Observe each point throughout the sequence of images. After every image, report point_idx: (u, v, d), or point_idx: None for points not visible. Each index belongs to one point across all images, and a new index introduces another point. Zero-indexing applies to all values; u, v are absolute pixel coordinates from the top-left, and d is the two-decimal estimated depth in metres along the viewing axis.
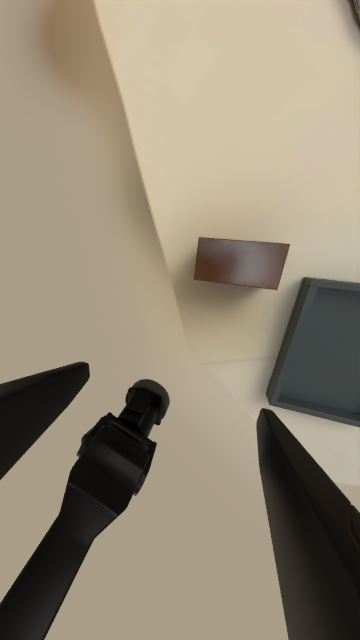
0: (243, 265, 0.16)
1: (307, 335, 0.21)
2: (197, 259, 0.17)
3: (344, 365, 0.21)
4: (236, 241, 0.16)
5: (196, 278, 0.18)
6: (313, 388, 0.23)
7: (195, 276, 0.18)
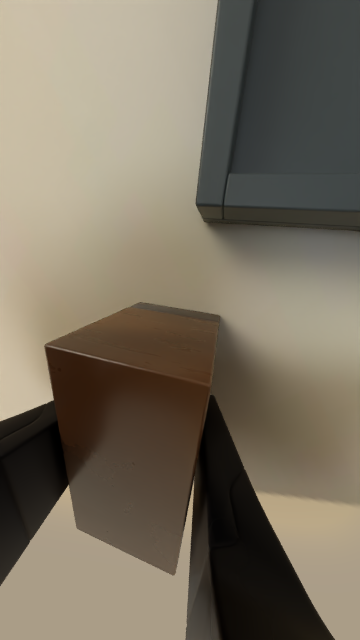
0: (125, 471, 0.05)
1: None
2: (122, 549, 0.06)
3: None
4: (67, 470, 0.06)
5: (171, 571, 0.06)
6: None
7: (165, 570, 0.06)
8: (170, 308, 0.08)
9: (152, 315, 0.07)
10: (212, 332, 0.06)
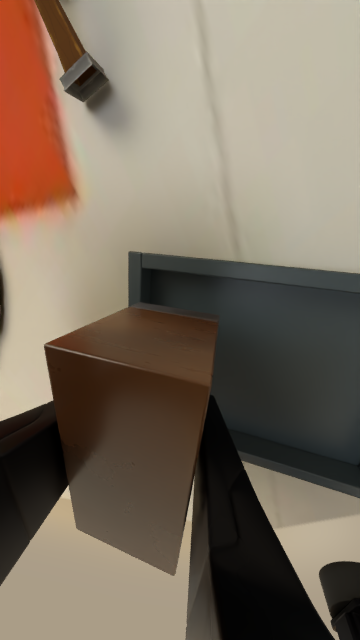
0: (125, 471, 0.05)
1: None
2: (122, 549, 0.06)
3: (281, 364, 0.11)
4: (67, 471, 0.06)
5: (171, 571, 0.06)
6: (344, 407, 0.10)
7: (165, 570, 0.06)
8: (170, 308, 0.08)
9: (152, 315, 0.07)
10: (212, 332, 0.06)
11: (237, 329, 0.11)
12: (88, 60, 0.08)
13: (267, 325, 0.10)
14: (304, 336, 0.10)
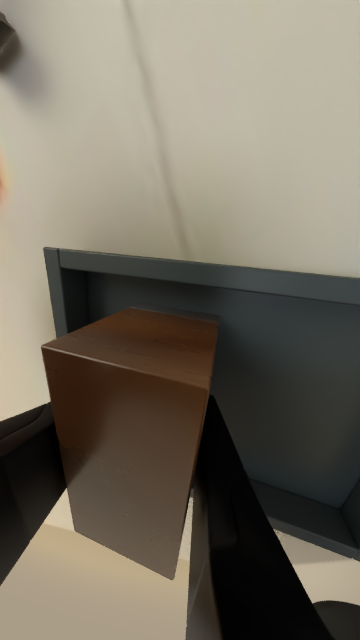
0: (123, 474, 0.05)
1: None
2: (120, 552, 0.06)
3: (243, 386, 0.09)
4: (65, 473, 0.05)
5: (169, 576, 0.06)
6: (321, 440, 0.08)
7: (164, 575, 0.06)
8: (170, 309, 0.08)
9: (151, 316, 0.07)
10: (212, 333, 0.06)
11: None
12: None
13: (223, 338, 0.08)
14: (268, 353, 0.08)
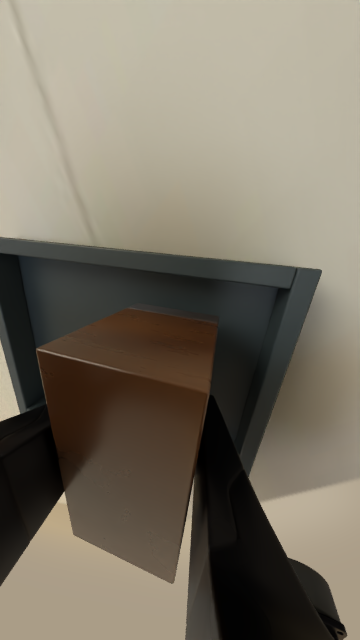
0: (121, 478, 0.05)
1: None
2: (120, 556, 0.06)
3: None
4: (63, 477, 0.05)
5: (169, 579, 0.06)
6: None
7: (164, 578, 0.06)
8: (168, 309, 0.08)
9: (150, 316, 0.07)
10: (211, 334, 0.06)
11: (101, 315, 0.11)
12: None
13: None
14: None
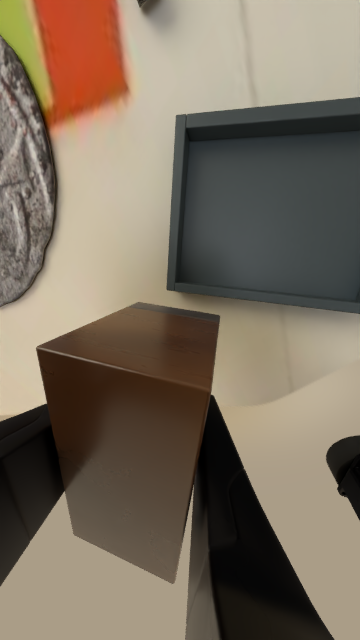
0: (122, 478, 0.05)
1: (241, 272, 0.16)
2: (120, 556, 0.06)
3: (292, 212, 0.14)
4: (63, 476, 0.05)
5: (170, 579, 0.06)
6: (343, 243, 0.13)
7: (164, 578, 0.06)
8: (169, 308, 0.08)
9: (150, 315, 0.07)
10: (212, 333, 0.06)
11: (257, 186, 0.14)
12: None
13: (281, 177, 0.13)
14: (310, 181, 0.13)
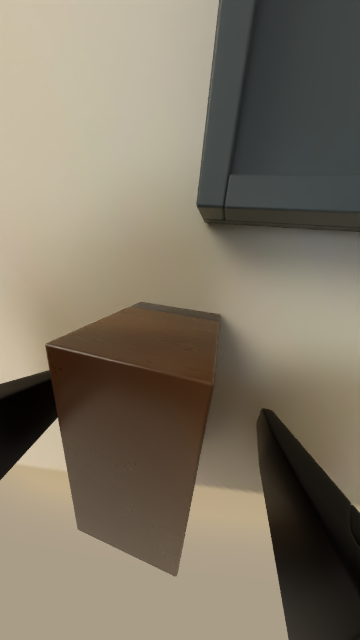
0: (126, 471, 0.05)
1: None
2: (124, 550, 0.06)
3: None
4: (69, 471, 0.06)
5: (173, 572, 0.06)
6: None
7: (167, 571, 0.06)
8: (171, 308, 0.08)
9: (153, 315, 0.07)
10: (213, 331, 0.06)
11: None
12: None
13: None
14: None
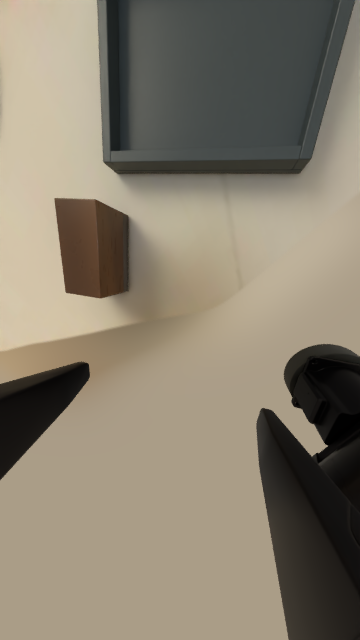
0: (79, 244, 0.15)
1: (180, 139, 0.15)
2: (82, 294, 0.17)
3: (226, 52, 0.13)
4: (61, 255, 0.16)
5: (99, 295, 0.16)
6: (279, 85, 0.12)
7: (97, 296, 0.16)
8: None
9: None
10: (113, 208, 0.16)
11: (189, 23, 0.13)
12: None
13: (213, 7, 0.12)
14: (242, 8, 0.12)
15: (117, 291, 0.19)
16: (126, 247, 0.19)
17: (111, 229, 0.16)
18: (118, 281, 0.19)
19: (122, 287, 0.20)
